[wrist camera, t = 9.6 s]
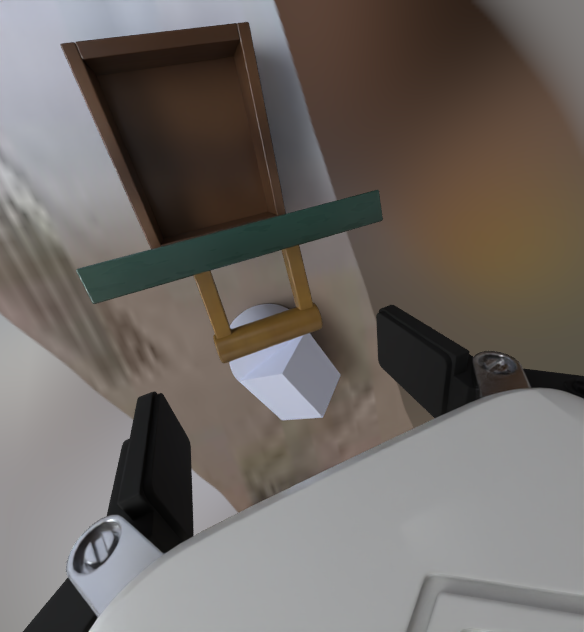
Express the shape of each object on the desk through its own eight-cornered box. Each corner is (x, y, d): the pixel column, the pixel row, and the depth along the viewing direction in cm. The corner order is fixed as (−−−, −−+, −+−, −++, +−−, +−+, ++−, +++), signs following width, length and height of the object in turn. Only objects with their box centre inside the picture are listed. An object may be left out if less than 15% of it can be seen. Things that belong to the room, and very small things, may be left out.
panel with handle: (74, 269, 9) (147, 412, 11) (379, 189, 11) (396, 319, 13) (150, 252, 21) (178, 320, 23) (288, 215, 23) (304, 280, 25)
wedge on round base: (328, 359, 37) (274, 287, 30) (354, 392, 31) (295, 312, 25) (274, 401, 37) (208, 338, 30) (290, 442, 31) (213, 375, 25)
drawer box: (80, 66, 19) (59, 43, 16) (239, 45, 21) (248, 21, 18) (158, 247, 25) (154, 257, 22) (275, 217, 27) (287, 221, 24)
